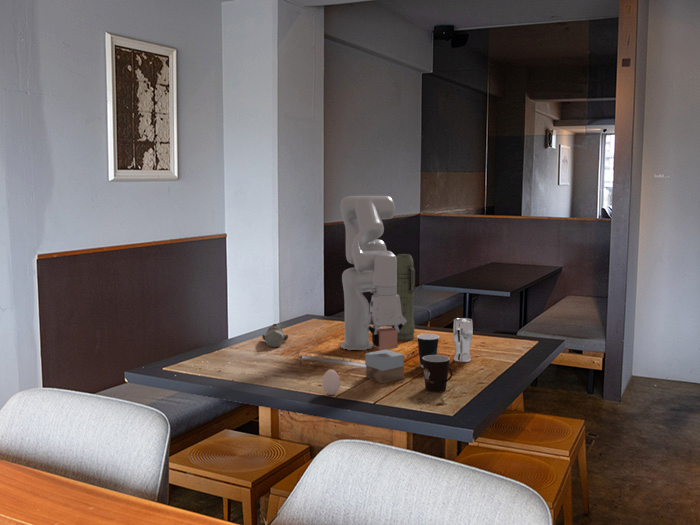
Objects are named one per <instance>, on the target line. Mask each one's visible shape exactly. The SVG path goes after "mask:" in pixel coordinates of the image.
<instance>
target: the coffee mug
mask: <svg viewBox="0 0 700 525" xmlns="http://www.w3.org/2000/svg"><path fill="white" fill-rule="evenodd" d="M422 360H423V368H422V369H423V376H424V387H425V391H427V392H431V393H442V392H445V391H446V390H447V383H448V382H449V381H450V380H451V379H452V377H453V369H452V368H451V366H450V361H451V358H450V357H449V356H446V355H442V354H437V355H427V356H424V357H422ZM449 372H450V375H449ZM448 376H449V377H448Z"/></svg>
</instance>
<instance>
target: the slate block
mask: <svg viewBox="0 0 700 525" xmlns="http://www.w3.org/2000/svg"><path fill="white" fill-rule="evenodd" d="M364 354H365V357H364V359H365V361H364V362H365V366H366V365H367V366H370V367H373V368H376V369H379V370H382V371H384V370H389V369H394V368H398V367H403V366H404V365H405V364H404V361H405V360H404V356H405V355H404V354H403V353H399V352H396V351H394V350H393V351H392V350H391V349H384V350H380V349H379V350H376V351H371V352H366V353H364Z"/></svg>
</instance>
